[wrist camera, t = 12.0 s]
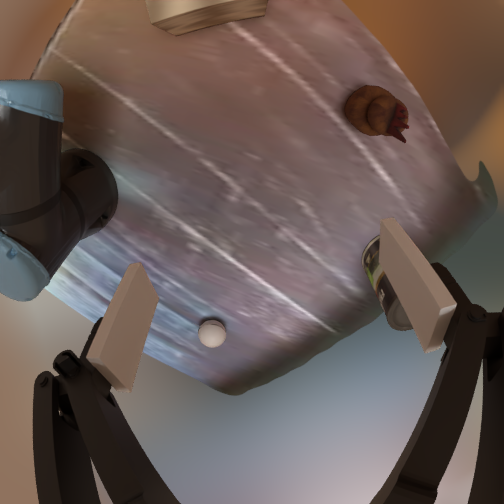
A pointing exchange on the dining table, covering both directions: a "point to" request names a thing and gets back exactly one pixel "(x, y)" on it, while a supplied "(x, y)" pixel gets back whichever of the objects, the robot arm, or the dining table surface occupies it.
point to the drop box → (200, 13)
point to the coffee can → (384, 288)
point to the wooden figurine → (377, 112)
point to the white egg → (212, 333)
